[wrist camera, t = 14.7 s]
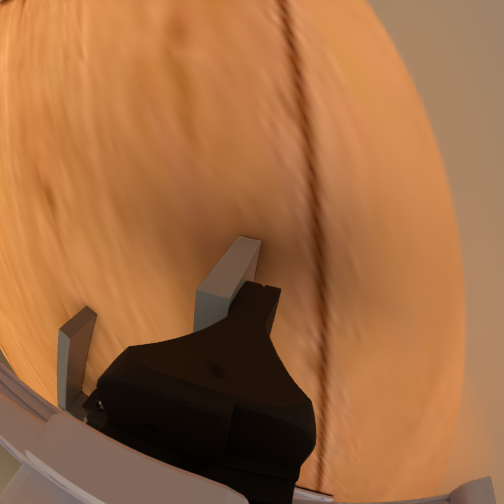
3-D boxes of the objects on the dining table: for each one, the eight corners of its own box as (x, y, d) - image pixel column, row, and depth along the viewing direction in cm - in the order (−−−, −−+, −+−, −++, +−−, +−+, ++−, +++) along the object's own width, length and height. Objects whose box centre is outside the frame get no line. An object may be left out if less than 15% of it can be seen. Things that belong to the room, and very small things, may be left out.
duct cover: (232, 403, 17) (209, 464, 12) (214, 398, 17) (189, 457, 13) (265, 242, 12) (236, 300, 8) (239, 235, 13) (196, 289, 8)
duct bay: (218, 398, 17) (204, 432, 15) (160, 449, 23) (149, 470, 20) (86, 305, 17) (59, 328, 14) (73, 388, 23) (57, 406, 20)
